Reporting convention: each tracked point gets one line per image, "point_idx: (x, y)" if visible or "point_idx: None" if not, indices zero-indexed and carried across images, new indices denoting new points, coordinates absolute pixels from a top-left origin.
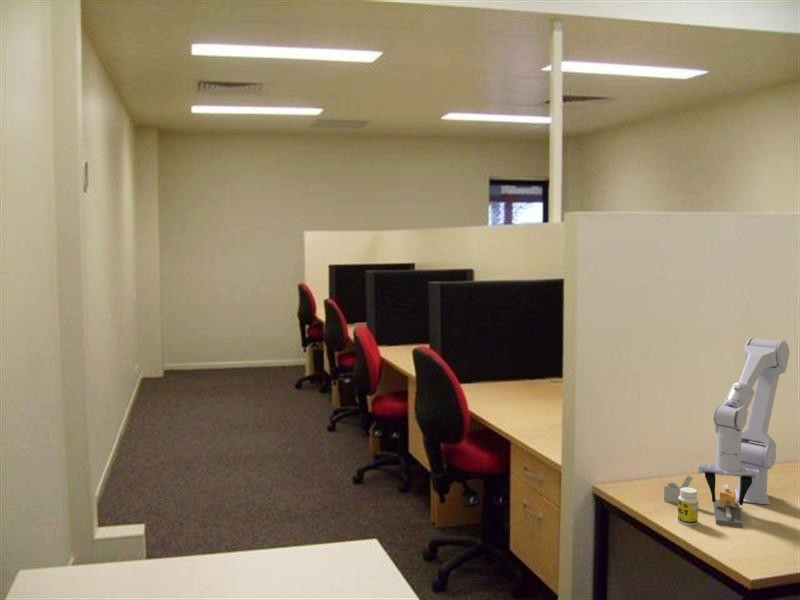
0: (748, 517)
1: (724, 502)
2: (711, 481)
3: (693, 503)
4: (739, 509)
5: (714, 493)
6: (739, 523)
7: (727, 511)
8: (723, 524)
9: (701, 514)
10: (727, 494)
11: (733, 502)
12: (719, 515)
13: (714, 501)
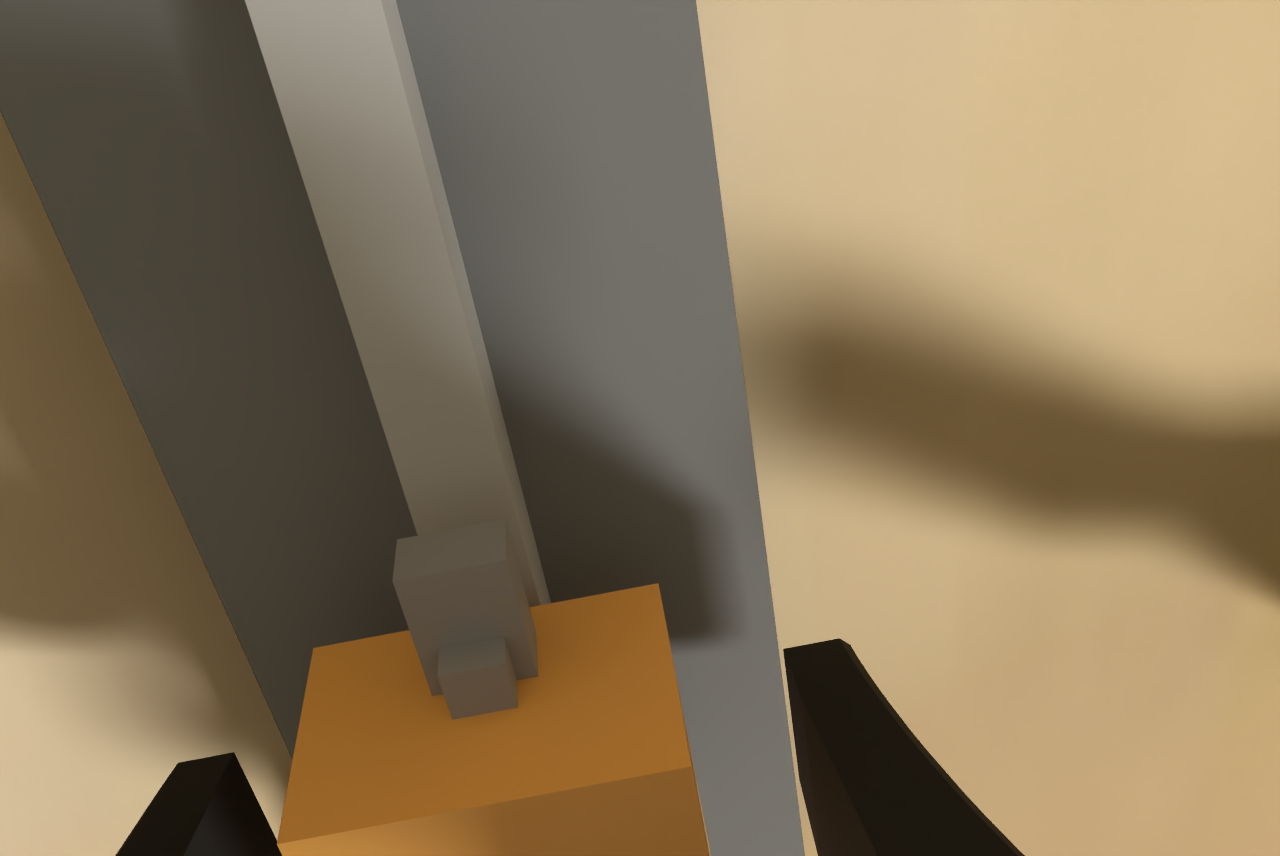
0: (67, 551)
1: (564, 650)
2: None
3: None
4: (266, 695)
5: (870, 802)
6: None
7: (423, 300)
8: None
9: (1010, 232)
10: None
11: (340, 710)
12: (606, 105)
13: (805, 655)
